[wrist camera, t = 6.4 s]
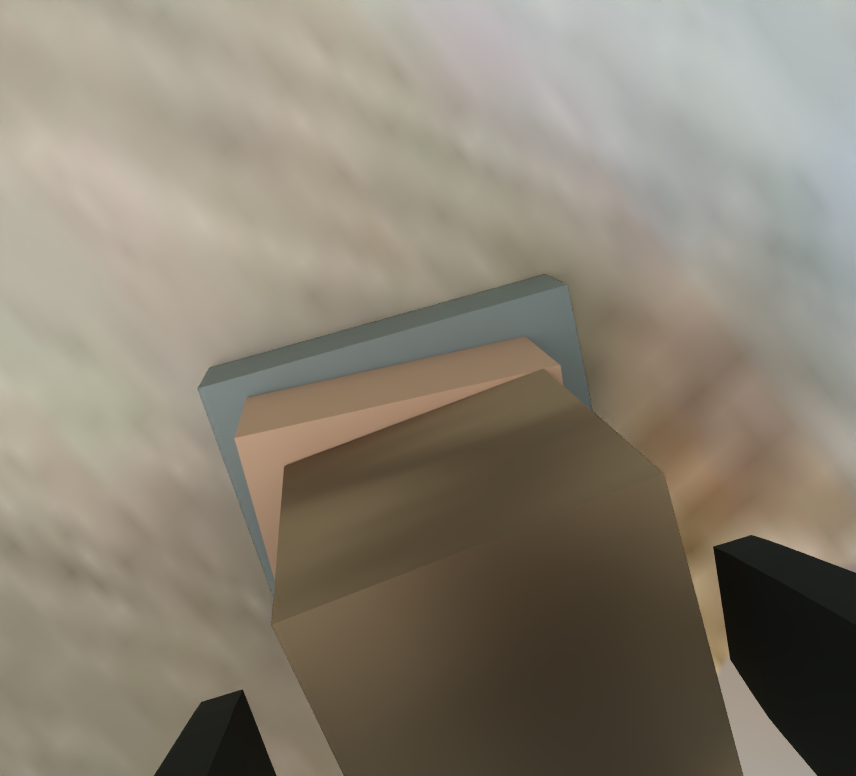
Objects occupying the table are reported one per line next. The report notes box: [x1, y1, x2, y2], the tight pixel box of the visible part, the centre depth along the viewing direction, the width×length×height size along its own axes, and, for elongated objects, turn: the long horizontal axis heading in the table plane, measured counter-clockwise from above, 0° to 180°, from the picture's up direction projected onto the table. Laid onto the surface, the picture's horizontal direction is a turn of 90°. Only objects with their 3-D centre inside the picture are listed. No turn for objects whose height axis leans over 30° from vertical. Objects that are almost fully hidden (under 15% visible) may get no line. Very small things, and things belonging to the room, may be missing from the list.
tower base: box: [198, 274, 593, 597], centre depth 18 cm, size 8×8×2 cm
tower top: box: [234, 336, 563, 714], centre depth 16 cm, size 6×6×2 cm
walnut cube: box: [271, 369, 743, 776], centre depth 12 cm, size 5×5×5 cm
